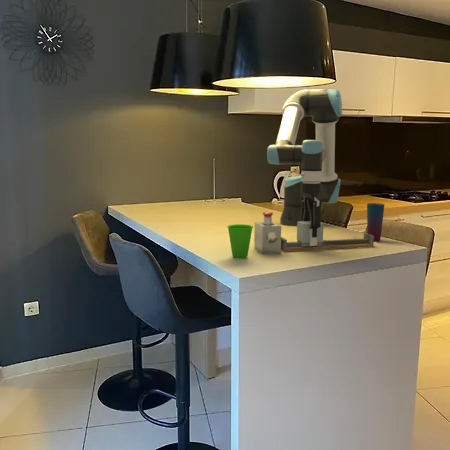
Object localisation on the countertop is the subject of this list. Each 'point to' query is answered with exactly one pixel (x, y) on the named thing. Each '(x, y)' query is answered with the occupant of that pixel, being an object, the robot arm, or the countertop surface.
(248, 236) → the cup
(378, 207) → the cup
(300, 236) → the carriage
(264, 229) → the grey push button box
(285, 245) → the rail
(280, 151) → the robot arm
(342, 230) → the countertop surface
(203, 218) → the countertop surface
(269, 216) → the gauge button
